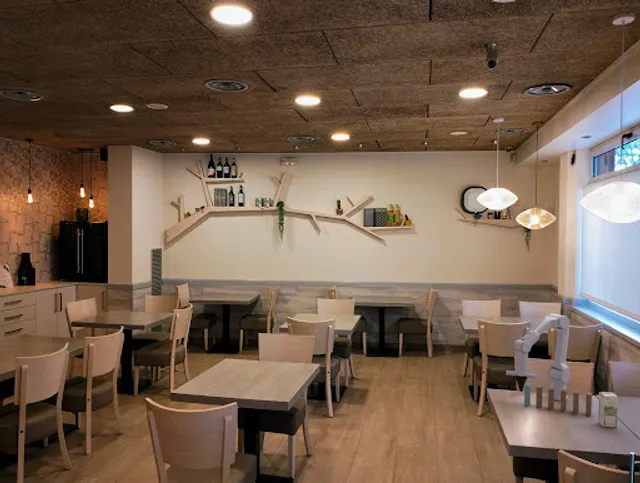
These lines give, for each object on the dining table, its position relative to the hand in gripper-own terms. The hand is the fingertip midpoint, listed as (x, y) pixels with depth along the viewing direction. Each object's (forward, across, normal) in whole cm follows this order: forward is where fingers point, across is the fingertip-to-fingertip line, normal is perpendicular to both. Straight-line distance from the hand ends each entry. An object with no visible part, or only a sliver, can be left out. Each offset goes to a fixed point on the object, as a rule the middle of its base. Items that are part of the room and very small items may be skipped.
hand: (521, 391), depth 272 cm
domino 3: (+6, +14, 0) cm, 15 cm away
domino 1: (+6, +3, 0) cm, 7 cm away
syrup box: (+7, +39, -11) cm, 41 cm away
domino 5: (+6, +25, 0) cm, 26 cm away
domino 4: (+6, +20, 0) cm, 21 cm away
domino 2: (+6, +9, 0) cm, 11 cm away
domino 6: (+6, +31, 0) cm, 31 cm away
